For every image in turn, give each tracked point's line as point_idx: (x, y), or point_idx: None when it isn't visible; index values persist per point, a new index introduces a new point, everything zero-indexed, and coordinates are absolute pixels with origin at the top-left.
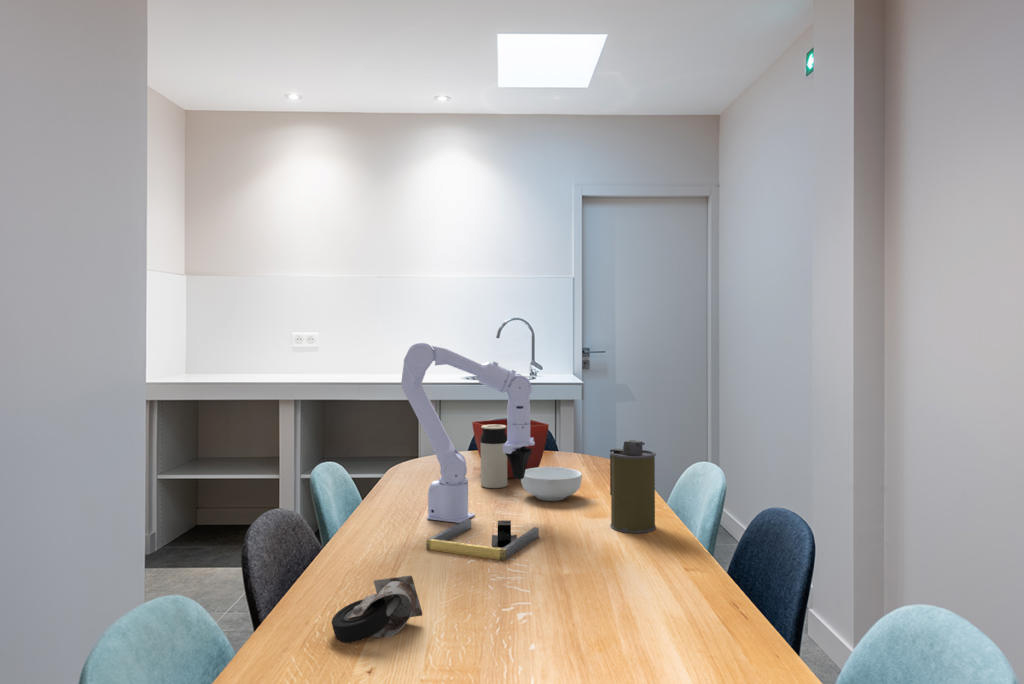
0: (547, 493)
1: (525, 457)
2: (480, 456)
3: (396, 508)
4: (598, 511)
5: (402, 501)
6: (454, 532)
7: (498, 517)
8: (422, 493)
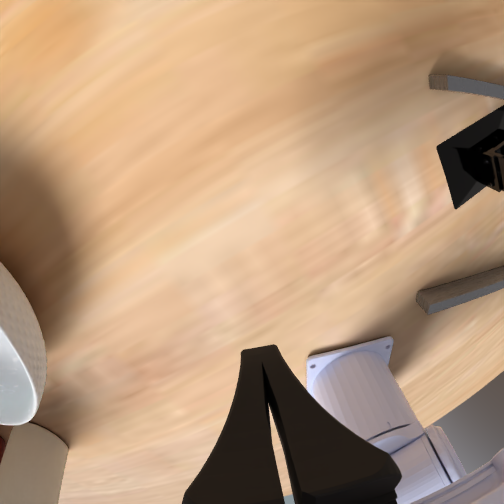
0: (18, 287)
1: (321, 451)
2: None
3: None
4: (7, 57)
5: None
6: (486, 278)
7: (288, 302)
8: None
